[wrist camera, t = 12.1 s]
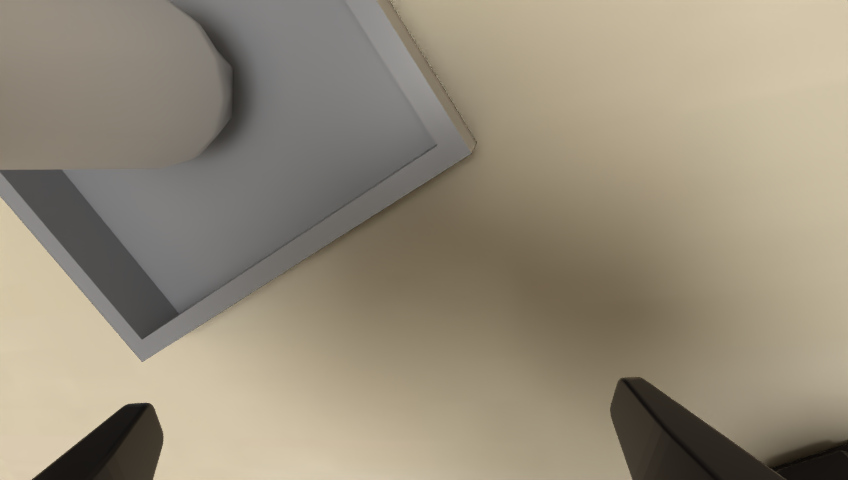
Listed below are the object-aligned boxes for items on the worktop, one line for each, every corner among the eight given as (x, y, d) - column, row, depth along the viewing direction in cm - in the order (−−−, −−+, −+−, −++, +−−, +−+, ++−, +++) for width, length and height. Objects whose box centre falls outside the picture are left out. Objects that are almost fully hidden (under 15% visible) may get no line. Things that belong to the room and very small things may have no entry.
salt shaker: (100, 100, 19) (-614, 128, 7) (151, -33, 17) (-722, -322, 5) (218, 185, 19) (-260, 356, 7) (283, 65, 17) (-228, 23, 5)
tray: (476, 142, 18) (471, 153, 15) (186, 327, 23) (142, 362, 20) (200, -305, 15) (129, -397, 12) (-64, 22, 20) (-158, 12, 17)
